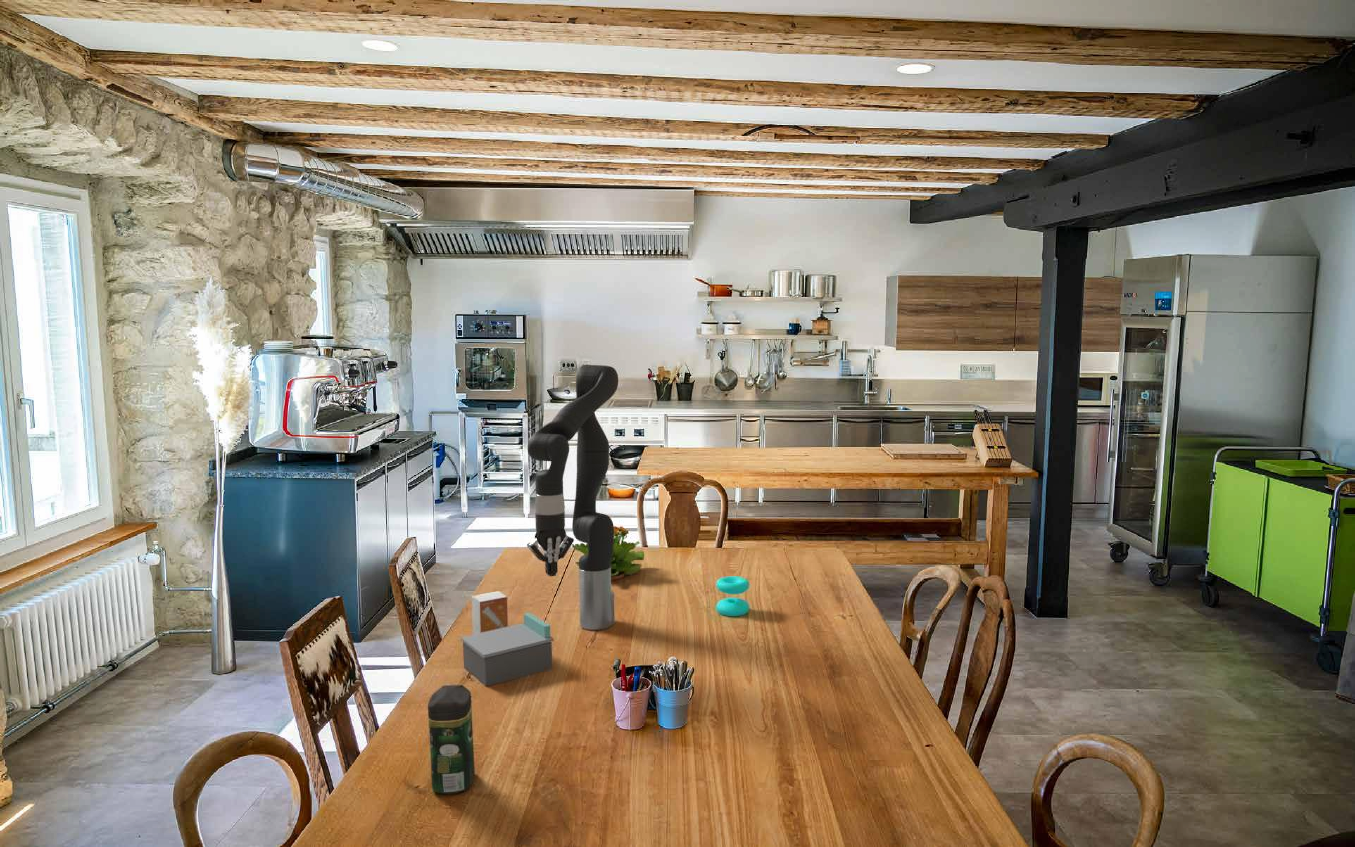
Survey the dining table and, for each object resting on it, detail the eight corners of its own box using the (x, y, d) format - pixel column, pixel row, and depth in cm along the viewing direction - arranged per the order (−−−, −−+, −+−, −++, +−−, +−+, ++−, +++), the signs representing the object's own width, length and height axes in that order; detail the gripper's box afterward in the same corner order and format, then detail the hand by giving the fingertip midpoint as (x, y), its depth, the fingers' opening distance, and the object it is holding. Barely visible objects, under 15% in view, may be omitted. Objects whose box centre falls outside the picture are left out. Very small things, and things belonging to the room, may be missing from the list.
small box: (481, 648, 238) (479, 601, 236) (472, 640, 243) (470, 595, 242) (509, 641, 242) (507, 596, 241) (500, 634, 248) (498, 590, 246)
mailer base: (528, 651, 235) (527, 626, 234) (552, 668, 224) (551, 642, 223) (463, 667, 225) (462, 641, 224) (485, 686, 214) (484, 658, 213)
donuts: (753, 576, 267) (743, 586, 258) (753, 608, 268) (743, 619, 259) (722, 573, 271) (711, 582, 262) (722, 604, 272) (711, 615, 263)
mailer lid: (528, 624, 235) (527, 611, 234) (553, 641, 223) (553, 626, 222) (460, 640, 224) (460, 625, 224) (483, 658, 212) (483, 643, 212)
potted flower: (640, 588, 289) (640, 536, 287) (569, 588, 289) (567, 536, 287) (644, 566, 314) (644, 518, 312) (578, 566, 314) (577, 518, 312)
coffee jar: (436, 770, 174) (433, 681, 172) (477, 769, 175) (474, 679, 172) (427, 797, 164) (423, 703, 162) (470, 795, 165) (466, 701, 163)
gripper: (565, 504, 234) (567, 567, 236) (520, 511, 226) (522, 576, 228) (579, 509, 228) (580, 574, 230) (533, 516, 220) (534, 583, 222)
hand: (551, 575), depth 229 cm, fingers closed
